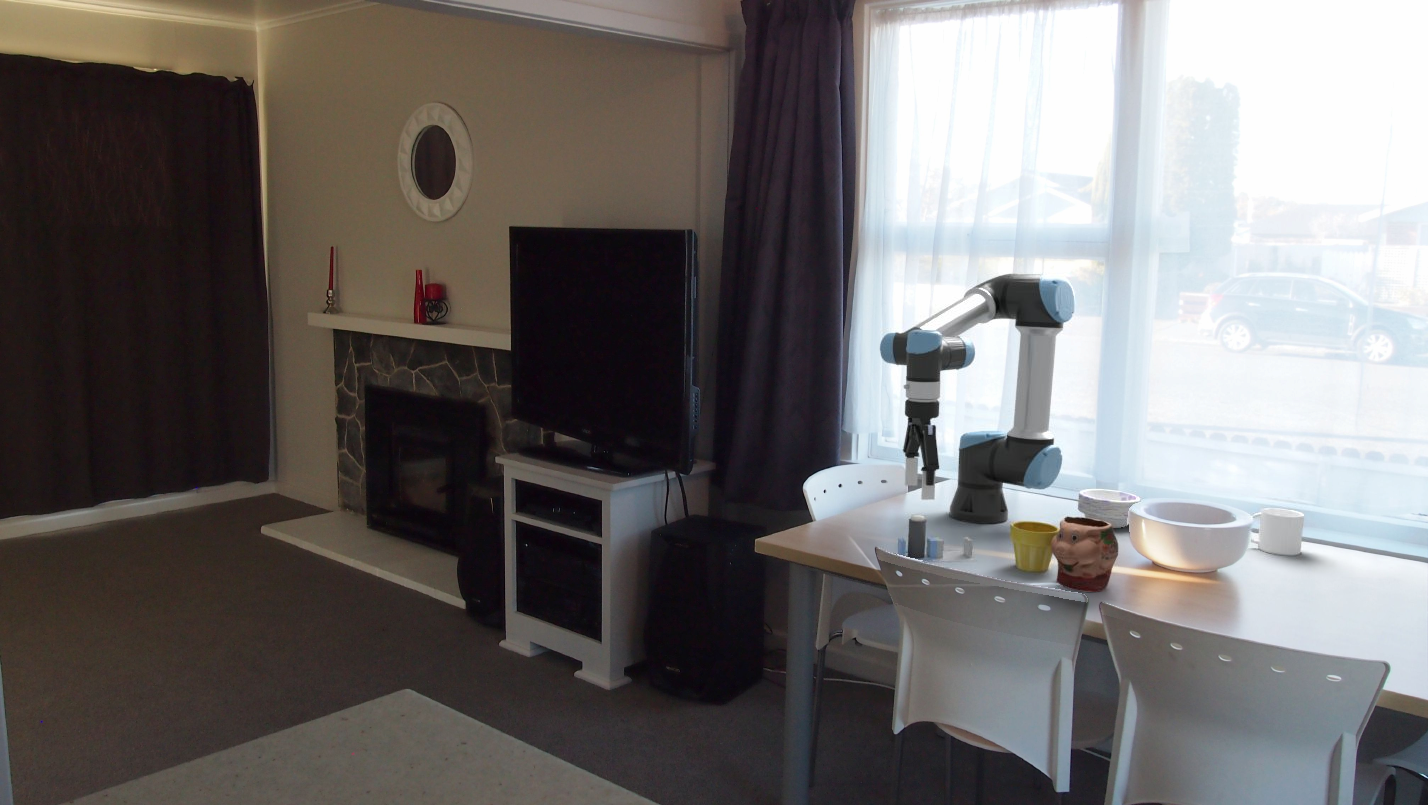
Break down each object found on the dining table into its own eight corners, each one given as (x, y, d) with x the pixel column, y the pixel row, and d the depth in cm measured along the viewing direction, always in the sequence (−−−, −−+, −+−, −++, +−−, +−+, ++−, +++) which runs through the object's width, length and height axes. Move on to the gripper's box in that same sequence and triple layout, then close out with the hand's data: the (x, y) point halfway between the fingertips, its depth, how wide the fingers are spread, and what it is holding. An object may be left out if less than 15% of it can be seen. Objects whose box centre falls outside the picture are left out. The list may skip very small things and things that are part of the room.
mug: (1303, 549, 245) (1306, 512, 244) (1297, 558, 238) (1301, 519, 237) (1247, 541, 252) (1250, 504, 251) (1240, 549, 245) (1244, 511, 244)
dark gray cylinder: (921, 553, 235) (923, 514, 234) (926, 558, 231) (928, 518, 230) (905, 554, 234) (907, 514, 233) (910, 558, 231) (912, 518, 229)
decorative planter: (1078, 568, 227) (1082, 507, 225) (1133, 581, 218) (1137, 517, 217) (1035, 587, 213) (1039, 522, 211) (1091, 601, 204) (1096, 534, 202)
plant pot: (1057, 565, 229) (1060, 523, 228) (1056, 578, 219) (1059, 534, 218) (1009, 560, 232) (1011, 518, 231) (1006, 573, 223) (1009, 529, 221)
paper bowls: (1151, 526, 265) (1153, 496, 264) (1115, 534, 257) (1117, 503, 256) (1100, 514, 278) (1102, 485, 277) (1064, 521, 269) (1066, 492, 268)
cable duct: (965, 553, 238) (965, 534, 237) (976, 563, 230) (977, 543, 229) (893, 553, 236) (894, 534, 236) (902, 563, 228) (903, 544, 228)
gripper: (891, 392, 240) (889, 480, 243) (921, 407, 215) (918, 505, 218) (922, 391, 240) (920, 479, 243) (956, 407, 216) (952, 505, 219)
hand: (919, 492), depth 231 cm, fingers open, 13 cm apart
